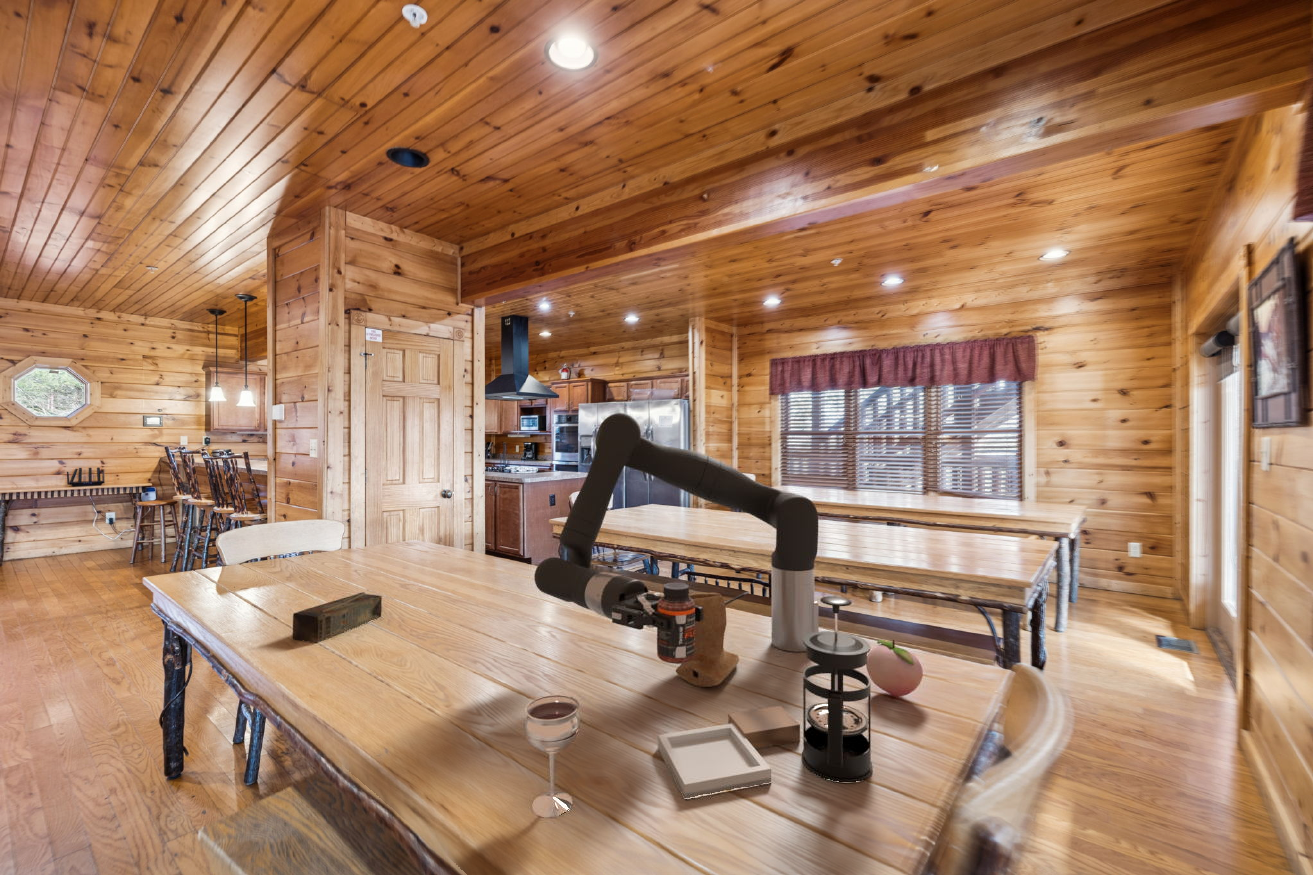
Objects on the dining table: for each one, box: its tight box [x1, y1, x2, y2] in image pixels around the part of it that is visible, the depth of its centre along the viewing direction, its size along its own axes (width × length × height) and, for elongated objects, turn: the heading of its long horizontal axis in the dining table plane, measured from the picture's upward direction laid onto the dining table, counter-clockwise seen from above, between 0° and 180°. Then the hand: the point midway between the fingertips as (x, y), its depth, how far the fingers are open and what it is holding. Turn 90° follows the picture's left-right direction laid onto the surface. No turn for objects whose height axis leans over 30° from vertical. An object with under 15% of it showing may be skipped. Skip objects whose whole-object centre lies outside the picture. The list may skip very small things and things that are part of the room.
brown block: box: [727, 705, 801, 750], centre depth 84 cm, size 9×6×2 cm, turn 106°
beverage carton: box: [292, 591, 383, 643], centre depth 132 cm, size 8×19×7 cm, turn 162°
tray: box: [657, 723, 772, 799], centre depth 76 cm, size 12×12×2 cm
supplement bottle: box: [656, 582, 695, 665], centre depth 86 cm, size 6×6×11 cm
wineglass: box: [524, 694, 581, 818], centre depth 68 cm, size 7×7×12 cm
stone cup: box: [675, 592, 740, 688], centre depth 107 cm, size 15×12×15 cm
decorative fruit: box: [865, 639, 924, 698], centre depth 96 cm, size 9×8×10 cm
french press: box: [801, 595, 874, 782], centre depth 76 cm, size 12×9×23 cm
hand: (687, 619), depth 84 cm, fingers closed on supplement bottle, 6 cm apart
